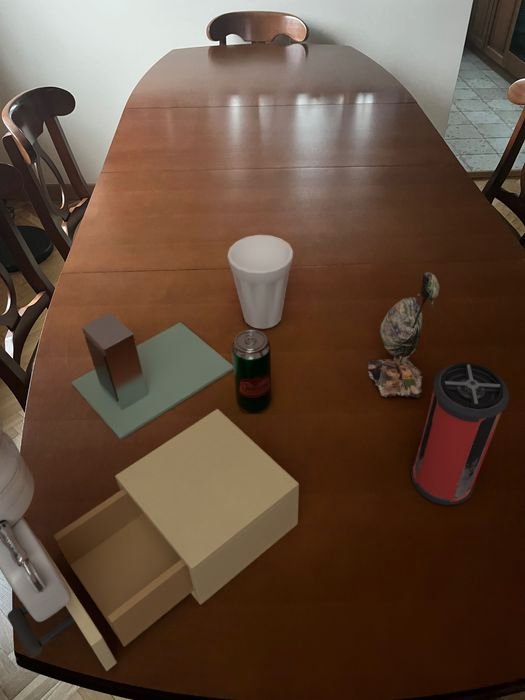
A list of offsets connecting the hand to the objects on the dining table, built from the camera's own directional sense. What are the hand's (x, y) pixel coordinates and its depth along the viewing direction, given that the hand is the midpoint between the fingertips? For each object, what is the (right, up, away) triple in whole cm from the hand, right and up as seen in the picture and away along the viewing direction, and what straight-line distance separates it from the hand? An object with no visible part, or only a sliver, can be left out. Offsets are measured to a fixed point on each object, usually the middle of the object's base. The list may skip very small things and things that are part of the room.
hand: (26, 561), depth 63 cm
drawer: (+8, -4, +2) cm, 9 cm away
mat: (+9, +18, +26) cm, 33 cm away
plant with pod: (+45, +19, +26) cm, 55 cm away
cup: (+25, +28, +36) cm, 52 cm away
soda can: (+24, +15, +22) cm, 36 cm away
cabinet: (+19, +2, +9) cm, 21 cm away
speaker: (+48, +6, +12) cm, 49 cm away
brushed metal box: (+5, +16, +24) cm, 29 cm away
